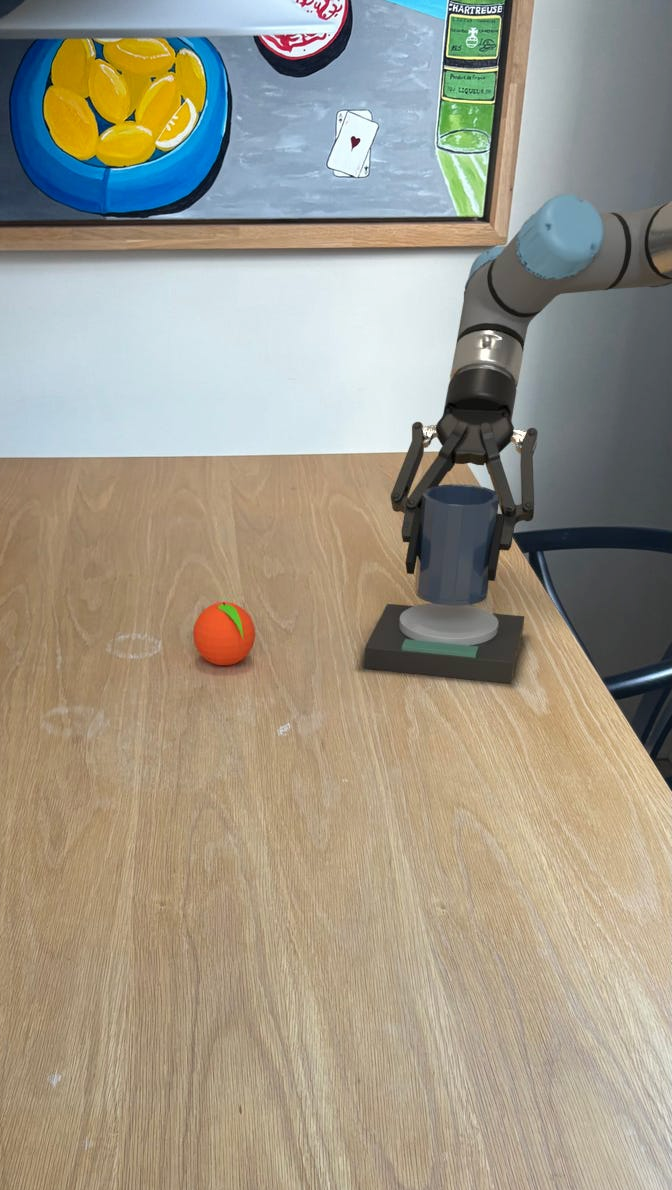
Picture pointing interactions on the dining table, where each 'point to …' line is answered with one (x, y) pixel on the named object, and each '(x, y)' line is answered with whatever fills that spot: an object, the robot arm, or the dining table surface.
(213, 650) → the clementine
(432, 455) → the dining table surface
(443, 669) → the scale
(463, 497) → the cup
